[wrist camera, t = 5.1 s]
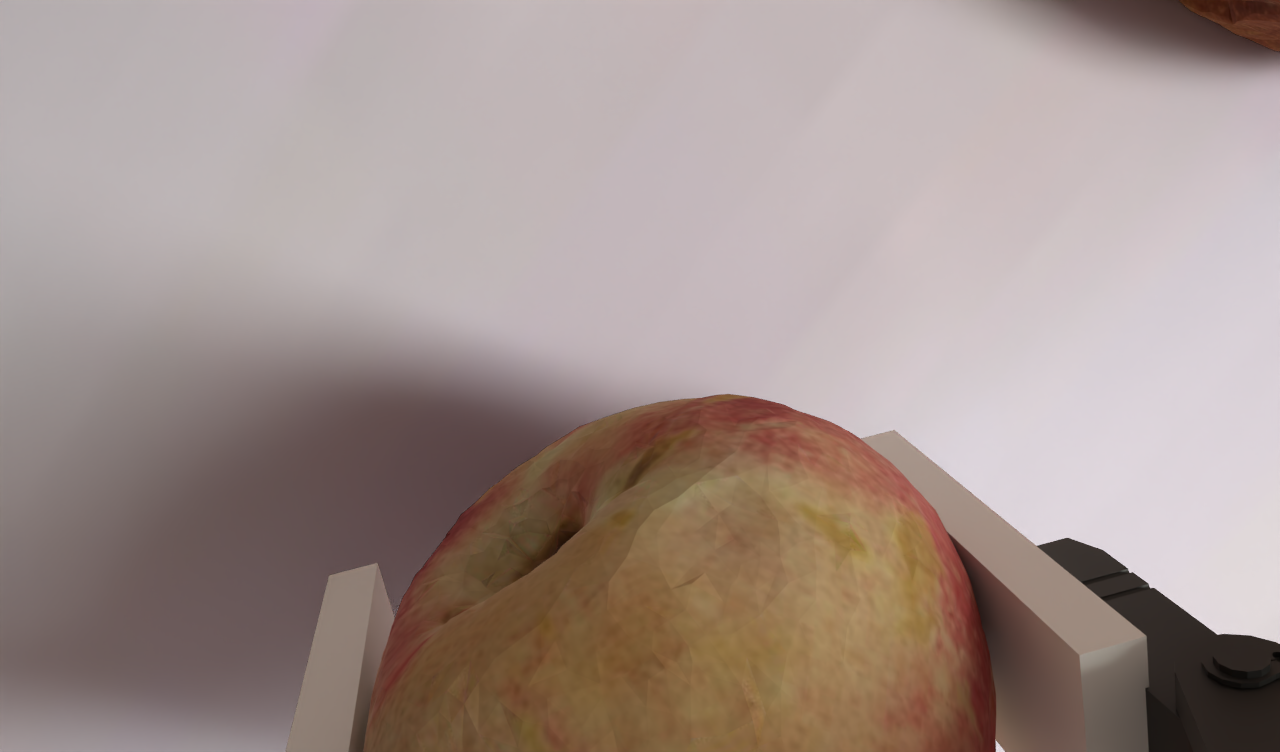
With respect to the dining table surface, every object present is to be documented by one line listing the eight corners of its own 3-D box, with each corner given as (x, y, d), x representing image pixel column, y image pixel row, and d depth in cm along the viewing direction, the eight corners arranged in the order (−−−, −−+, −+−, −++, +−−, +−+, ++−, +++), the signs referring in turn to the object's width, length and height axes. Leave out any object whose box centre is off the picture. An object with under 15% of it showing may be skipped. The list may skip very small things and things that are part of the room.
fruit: (824, 287, 16) (1150, 472, 9) (877, 697, 19) (1170, 1120, 11) (330, 398, 15) (219, 711, 8) (451, 815, 18) (455, 1361, 10)
